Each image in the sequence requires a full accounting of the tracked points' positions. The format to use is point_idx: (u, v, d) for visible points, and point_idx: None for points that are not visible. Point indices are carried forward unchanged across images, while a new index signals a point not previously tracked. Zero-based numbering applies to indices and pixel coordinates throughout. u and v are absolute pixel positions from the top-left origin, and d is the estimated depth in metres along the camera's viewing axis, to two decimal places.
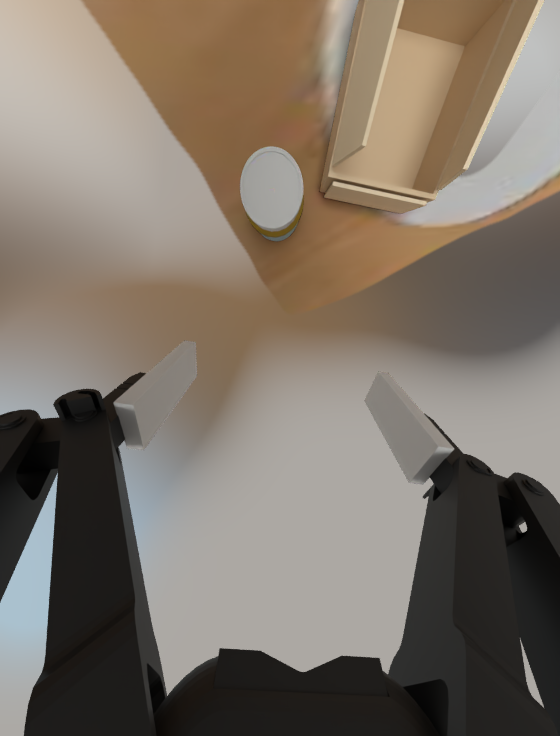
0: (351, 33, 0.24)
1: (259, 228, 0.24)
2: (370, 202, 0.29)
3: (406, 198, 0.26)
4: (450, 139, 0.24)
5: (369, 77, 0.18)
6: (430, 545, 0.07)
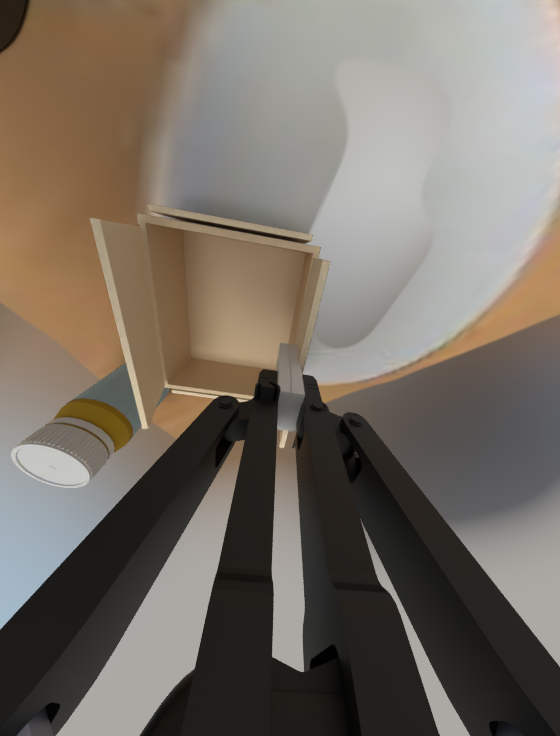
0: None
1: None
2: None
3: None
4: None
5: None
6: (304, 496, 0.08)
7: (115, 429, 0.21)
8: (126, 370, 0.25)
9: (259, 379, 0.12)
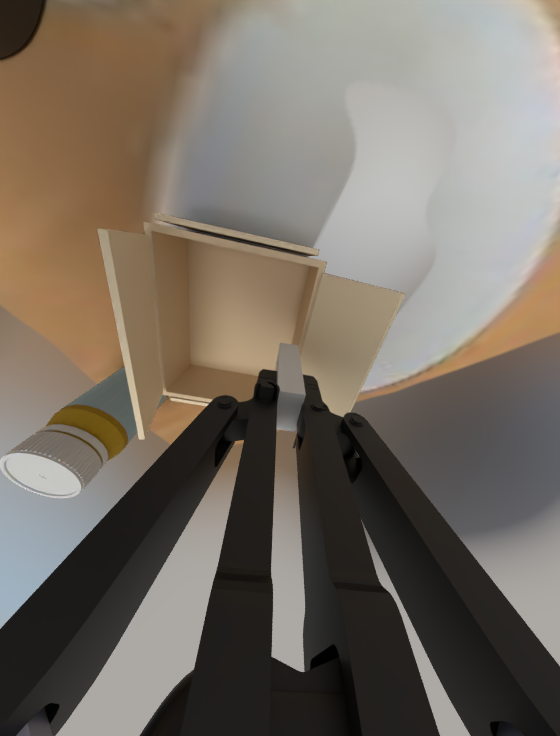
0: None
1: None
2: None
3: None
4: None
5: None
6: (304, 496, 0.08)
7: (110, 437, 0.20)
8: (123, 375, 0.25)
9: (258, 379, 0.12)
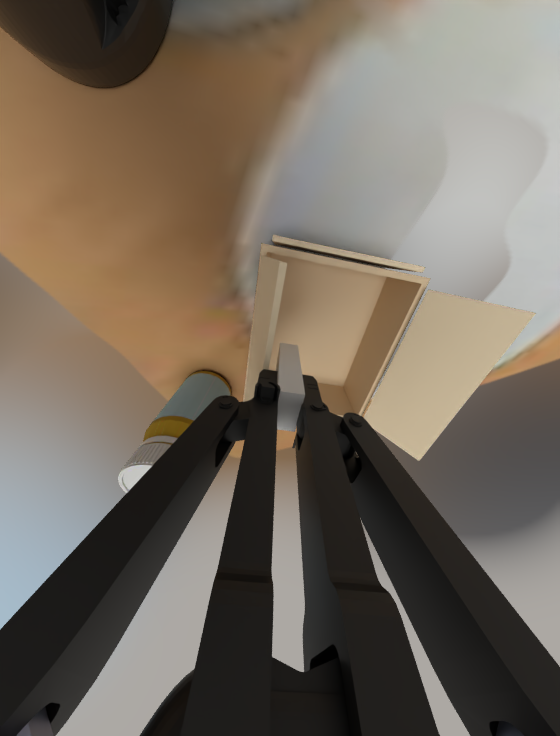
0: None
1: None
2: None
3: None
4: (370, 375, 0.23)
5: (253, 390, 0.17)
6: (304, 496, 0.08)
7: None
8: (198, 385, 0.26)
9: (259, 379, 0.12)
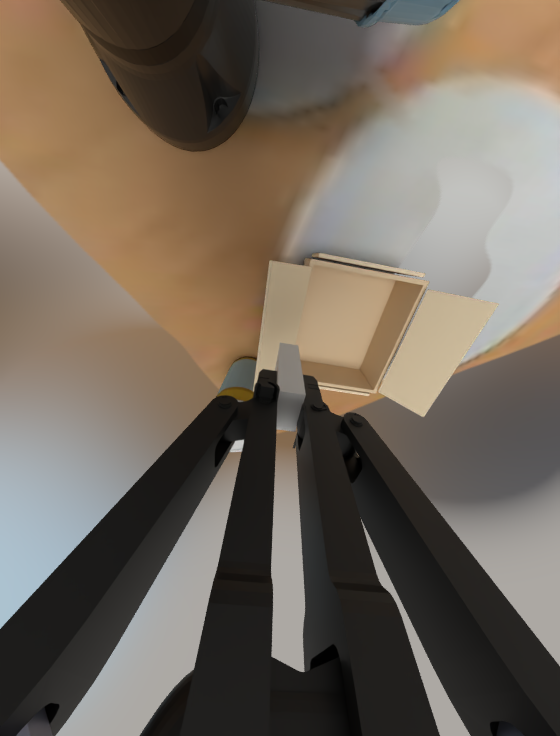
0: None
1: None
2: None
3: (352, 392, 0.31)
4: (384, 355, 0.29)
5: None
6: (304, 496, 0.08)
7: None
8: (246, 367, 0.32)
9: (258, 379, 0.12)
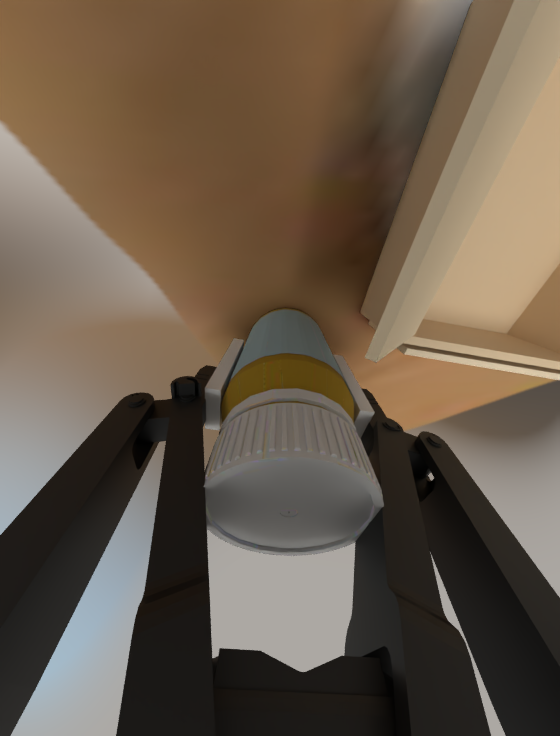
0: (459, 48, 0.11)
1: None
2: None
3: (547, 374, 0.13)
4: None
5: None
6: None
7: (353, 420, 0.10)
8: (293, 320, 0.14)
9: (196, 376, 0.12)
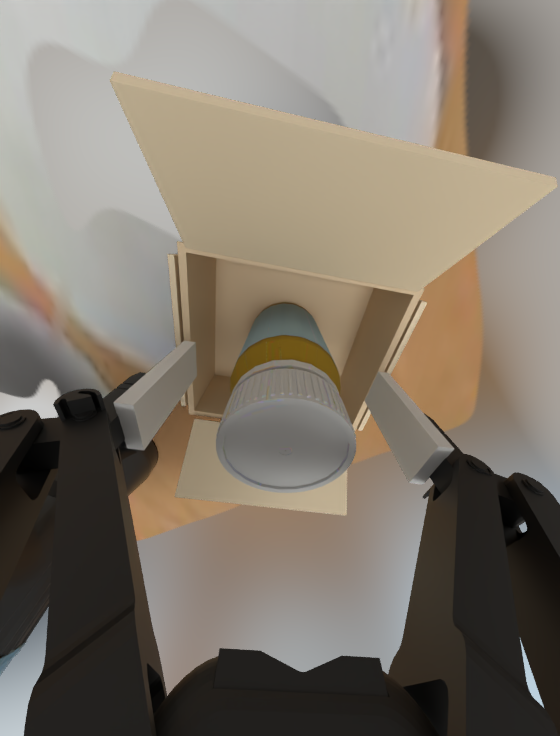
0: None
1: None
2: None
3: (405, 339, 0.15)
4: None
5: None
6: (430, 545, 0.07)
7: (338, 390, 0.12)
8: (291, 311, 0.17)
9: (120, 385, 0.10)
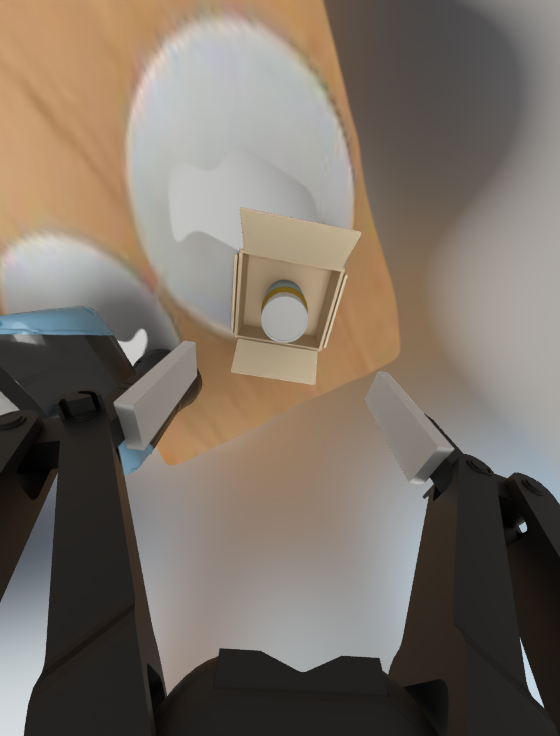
0: None
1: None
2: None
3: (340, 293, 0.33)
4: None
5: None
6: (430, 545, 0.07)
7: (306, 308, 0.29)
8: (287, 282, 0.34)
9: (120, 386, 0.10)
